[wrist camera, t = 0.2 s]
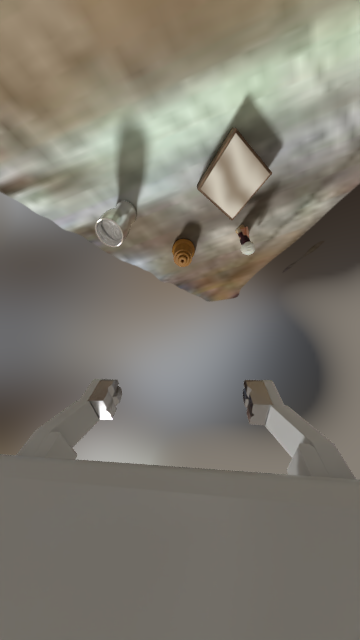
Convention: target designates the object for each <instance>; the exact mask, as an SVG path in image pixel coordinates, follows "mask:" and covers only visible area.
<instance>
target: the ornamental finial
mask: <svg viewBox="0 0 360 640" xmlns="http://www.w3.org/2000/svg"><path fill="white" fill-rule="evenodd" d="M172 252H173V255H174V262H175V263H176V264H177V265H178V266H181V267H185V266H188V265H189V264H190V263H191V261H192V257H193V256H194V253H195V248H194V245H193V243H192V242H191V241H189V240H187V239H180V240H178V241H176V242H175V243H174V245H173V248H172Z"/></svg>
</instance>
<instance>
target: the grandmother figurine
mask: <svg viewBox="0 0 360 640" xmlns="http://www.w3.org/2000/svg"><path fill="white" fill-rule="evenodd" d="M236 233H237V234H238V236H239V238H240V242H241V244H242V247H241V251H242V253H243V254H246V255H250V254H252V253H254V251H255V247H254V244H253V243H252V242H250V240H249V231H248V227H247V226H246V227H244V225H240V226H239V227H238V228H237V229H236Z"/></svg>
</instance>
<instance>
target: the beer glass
mask: <svg viewBox="0 0 360 640" xmlns="http://www.w3.org/2000/svg"><path fill="white" fill-rule="evenodd" d="M136 217H137V213H136V210H135V208H134V206H133V205H132V204H131V203H130V202H128V201H120V202H118V203H117V205H116V208H113V209H110V210H108V211H106V212H105V213H104V214H103V215H102V216H101V217H100V218H99V220H98V221H97V222H96V224H95V232H96V234H97V236H98V238H99V239H100V240H101V241H102V242H103V243H104V244H106V245H108V246H110V247H117V246H119V245H121V243H122V242H123V241H124V240H125V239H126V237H127V236H128V234H129V232H130V228H131V224H132V223H134V222H135V220H136Z"/></svg>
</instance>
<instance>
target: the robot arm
mask: <svg viewBox="0 0 360 640" xmlns="http://www.w3.org/2000/svg"><path fill="white" fill-rule="evenodd" d="M118 384H119V383H118V380H111V379H94V380H93V381H92V382H91V384H90V385H89V387H88V388H87V390H86V391H85V393H84V394H83V396H82V397H81V399H80V400H79V401H76V402H75V403H73V404H72V405H70V406H69V407H68V408H66V409H65V410H63V411H62V412H61V413H59V414H58V415H56V416H55V417H54V418H52V419H51V420H49V421H48V422H46V423H45V424H44V425H42V426H41V427H39V428H38V429H37V430H36V431H35V432H34V433H33V435H32V436H31V437H30V439H29V440H28V441H27V442H26V443H25V445H24V446H23V447H22V449H21V450H20V451H19V452H18V454H17V455H3V454H0V640H360V480H357V479H356V478H355V477H354V475H353V474H352V472H351V470H350V469H349V467H348V465H347V464H346V462H345V461H344V459H343V457H342V456H341V454H340V452H339V451H338V449H337V448H336V446H335V444H333V443H332V442H331V441H330V440H329V439H327V438H326V437H325V436H324V435H322V434H321V433H320V432H319V431H318V430H316V429H315V428H314V427H313V426H311V425H310V424H309V423H308V422H307V421H305V420H304V419H303V418H302V417H300V416H299V415H298V414H297V413H295V412H294V411H293V410H292V409H291V408H289V407H288V406H284V404H283V402H282V400H281V398H280V395H279V394H278V391H277V389H276V387H275V385H274V383H273V381H272V380H245V381H244V387H245V388H244V389H243V400H244V405H245V406H246V407H247V416H248V420H249V424H252V425H265V426H266V428H267V429H268V430H269V431H270V432H271V433H272V435H273V436H274V437H275V438H276V439H277V440H278V442H279V443H280V444H281V445H282V446H283V448H284V449H285V450H286V451H287V452H288V453H289V455H290V456H291V457H292V460H291V462H290V464H289V466H288V468H287V471H288V474H289V475H286V474H272V473H258V472H244V471H230V470H215V469H202V468H187V467H173V466H159V465H145V464H130V463H116V462H102V461H88V460H75V459H76V457H77V453H76V452H75V451H74V449H73V446H74V445H75V444H76V443H77V442H78V441H79V440H80V439H81V438H82V437H83V436H84V435H85V434H86V433H87V432H88V431H89V430H90V429H91V428H92V427H93V426H94V425H95V424H96V423H97V422H98V421H99V419H112V418H113V416H114V414H115V412H116V405H117V404H118V403H119V402H120V400H121V396H122V390H121V388H120V387H119V386H118Z"/></svg>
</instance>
